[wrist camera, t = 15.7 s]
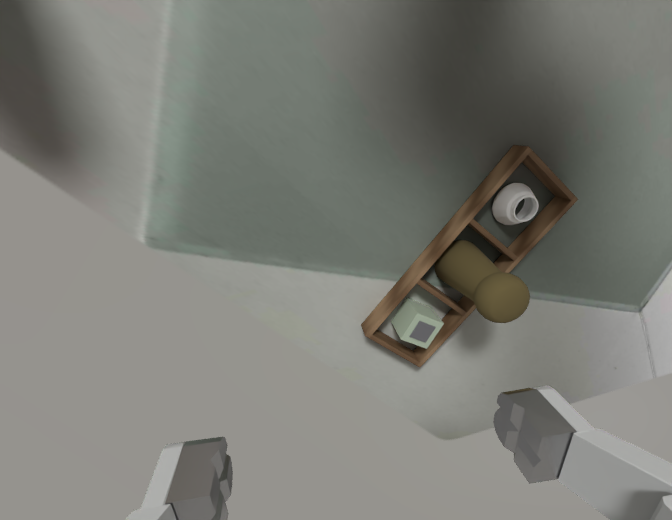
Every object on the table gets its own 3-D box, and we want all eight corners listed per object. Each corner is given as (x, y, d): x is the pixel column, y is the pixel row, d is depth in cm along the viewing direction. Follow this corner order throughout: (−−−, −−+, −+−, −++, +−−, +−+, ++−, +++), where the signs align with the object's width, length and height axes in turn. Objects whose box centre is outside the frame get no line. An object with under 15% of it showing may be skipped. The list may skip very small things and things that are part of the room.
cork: (476, 281, 44) (533, 329, 33) (432, 285, 43) (478, 335, 33) (482, 238, 41) (547, 275, 31) (436, 241, 40) (487, 281, 30)
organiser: (513, 145, 37) (528, 146, 35) (561, 195, 40) (578, 199, 38) (361, 324, 43) (365, 336, 41) (413, 355, 47) (419, 367, 44)
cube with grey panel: (406, 296, 43) (417, 313, 39) (430, 307, 44) (444, 324, 40) (391, 321, 44) (401, 340, 40) (415, 330, 45) (427, 349, 41)
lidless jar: (536, 192, 40) (505, 175, 39) (555, 197, 37) (522, 179, 36) (513, 229, 42) (482, 214, 40) (529, 236, 39) (497, 220, 37)
